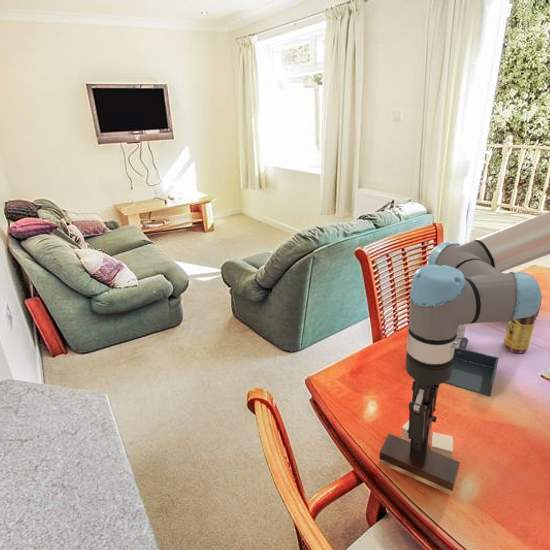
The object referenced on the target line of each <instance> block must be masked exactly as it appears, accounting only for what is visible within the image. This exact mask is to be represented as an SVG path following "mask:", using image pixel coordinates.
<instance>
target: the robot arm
mask: <svg viewBox="0 0 550 550" xmlns="http://www.w3.org/2000/svg"><path fill="white" fill-rule="evenodd" d="M548 255H550V210H549V211H546V212H543V213H541V214H537V215H536V216H533V217H531V218H528V219H525V220H522V221H521V222H518V223H516V224H512V225H510V226H507V227H505V228H502V229H500V230H497V231H494V232H492V233H490V234H487V235H484V236H481V237H479V238H476V239H474V240H471V241H469V242H465V243H463V244H460V243H459V242H454V241H443V242H441V243H439V244H437V245H436V246H434V247H433V248H432V250H431V251H430V253H429V255H428V260H427V263H428V265H424V266H422V267H420V268H418V269H416V271H415V272H414V274H413V275H412V281H411V287H410V293H409V314H408V315H409V316H408V317H409V318H408V319H409V320H408V328H407V338H406V353H405V366H404V367H405V370H406V373H407V374H408V375H409V376H410V378H412V380H413V381H412V385H411V391H412V399H411V401H409V403H408V411H409V413H408V421H409V428H408V430H407V433H409V434H408V438H409V439H411V444H410V455H409V456H411V457H414V458H416V459H418V460H421V461H423V462H424V460H425V452H426V444H427V435H428V434H426V431H427V424H428V417H432V418H433V419H432V423H434V424H435V423H437V418H438V417H437V416H435V415H434V413H435V412H436V406H437V399H438V394H439V388H440V385H441V384H444V382H446V381H448V380H449V378H450V377H451V373H452V366H453V356H454V349H455V348H456V349H458V348H459V344H460V342H456V340H457V338H456V336H457V331H458V326H459V325H463V324H466V325H473V324H480V323H481V324H482V323H494V322H506V321H507V322H508V321H512V320H514V319H520V318H526V317H531V316H533V315H534V314H535V313H536V312H537V311H538V310H539V308H540V309H541V306H540V302H541V303H542V298H543V295H542V290H541V286H540V284H539V282H538V281H537V279H536V278H535V277H534V276H532V275H531V274H530V273H527V272H519V271H518V272H515V271H509V272H507V273H505V271H508V270H511V269H514V268H516V267H519V266H521V265H524V264H527V263H530V262H532V261H535V260H537V259H540V258H543V257H546V256H548ZM539 311H540V310H539Z"/></svg>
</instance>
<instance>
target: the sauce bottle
mask: <svg viewBox="0 0 550 550" xmlns="http://www.w3.org/2000/svg"><path fill="white" fill-rule="evenodd" d="M535 317H536V313H535V314H534V315H533V316H531V317H526V318H520V319H514V320H512V321H507V326H506V331H505V335H504V340H503V341H504V343H503V346H504V348H505V349H506V350H507V351H508V352H512V353H514V354H526V352H527V351H528V348H529V346H530V342H531V339H532V335H533V332H534V327H535V323H536V320H535ZM536 318H537V317H536Z"/></svg>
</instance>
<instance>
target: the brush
mask: <svg viewBox="0 0 550 550" xmlns="http://www.w3.org/2000/svg"><path fill="white" fill-rule="evenodd" d="M432 419H433V418H432V417H428V424H427V431H426V434H428V435H427V444H426V452H425V460H424V462H423V461H421V460H418V459H416V458H414V457H411V456H409V455H410V444H411V442H409V441H406V440H404V439H402V438H401V437H399V436H396V435H394V434H391V433H387V436H386V437H385V439H384V442H383V444H382V446H381V447H380V451H379V454H378V455H379V457H378V458H379V464H381V465H383V466H386V467H387V468H390V469H392V470H394V471H396V472H398V473H401V474H403V475H406V476H408V477H410V478H412V479H413V480H416V481H419V482H421V483H423V484H426V485H427V486H430V487H431V488H434V489H437V490H439V491H440V492H443V493H445V494H448V495H449V496H453V495H454V494H453V493H454V490H455V487H456V482H457V478H458V474H459V469H460V463H461V462H460V461H458V460H456V459H454V458H452V459H451V458H449V457H446V456H444V455H441V454H439V453H436V452H434V451H431V449H430V445H431V444H430V443H431V436H432V435H431V434H432V427H433V422H432Z"/></svg>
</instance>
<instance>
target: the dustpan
mask: <svg viewBox="0 0 550 550" xmlns="http://www.w3.org/2000/svg"><path fill="white" fill-rule="evenodd" d="M468 345H469V339H468V338H467V337H465V336H464V338H460V342H459V348H458V349H456V348H455V349H454V356H453V366H452V373H451V377H450V378H449V380H448V381H446V382H444V383H445V384H448V385H451V386H454V387H458V388H461V389H464V390H468V391H471V392H474V393H477V394H480V395H484V396H487V397H491V395H492V391H493V386H494V381H495V378H496V373H497V369H498V368H497V367H498V363H499V357H498V356H494V355H489V354H486V353H483V352H478V351H473V350H471V349H467V347H468ZM444 383H443V384H444Z"/></svg>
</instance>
